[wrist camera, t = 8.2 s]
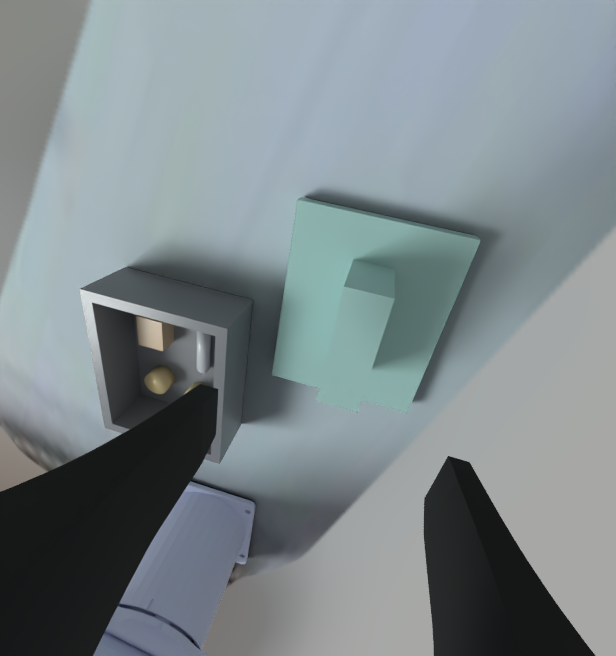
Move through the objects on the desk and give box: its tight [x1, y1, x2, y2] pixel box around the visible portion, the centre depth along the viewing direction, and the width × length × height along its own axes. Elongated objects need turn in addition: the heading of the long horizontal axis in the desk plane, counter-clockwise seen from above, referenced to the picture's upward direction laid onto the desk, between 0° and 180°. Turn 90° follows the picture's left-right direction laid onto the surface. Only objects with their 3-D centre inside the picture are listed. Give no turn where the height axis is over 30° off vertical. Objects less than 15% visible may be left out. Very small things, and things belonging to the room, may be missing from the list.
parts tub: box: [80, 267, 253, 464], centre depth 21 cm, size 10×8×4 cm
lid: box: [272, 197, 481, 413], centre depth 17 cm, size 10×8×5 cm
